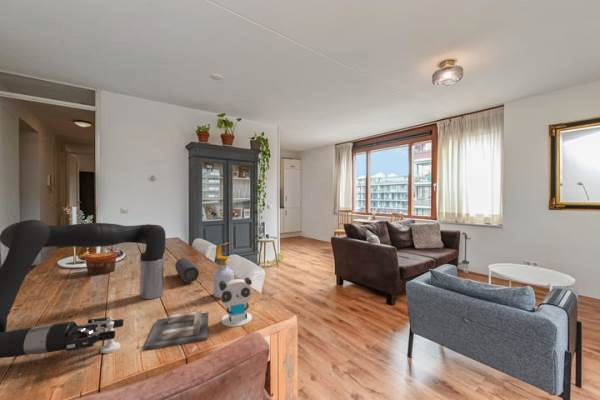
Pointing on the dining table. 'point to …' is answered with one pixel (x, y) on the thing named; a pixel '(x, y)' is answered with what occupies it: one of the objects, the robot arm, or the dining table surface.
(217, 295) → the soap bottle
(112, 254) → the food container
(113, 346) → the chess piece
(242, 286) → the panda figurine
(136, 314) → the dining table surface
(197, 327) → the u rest
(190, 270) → the bluetooth speaker
